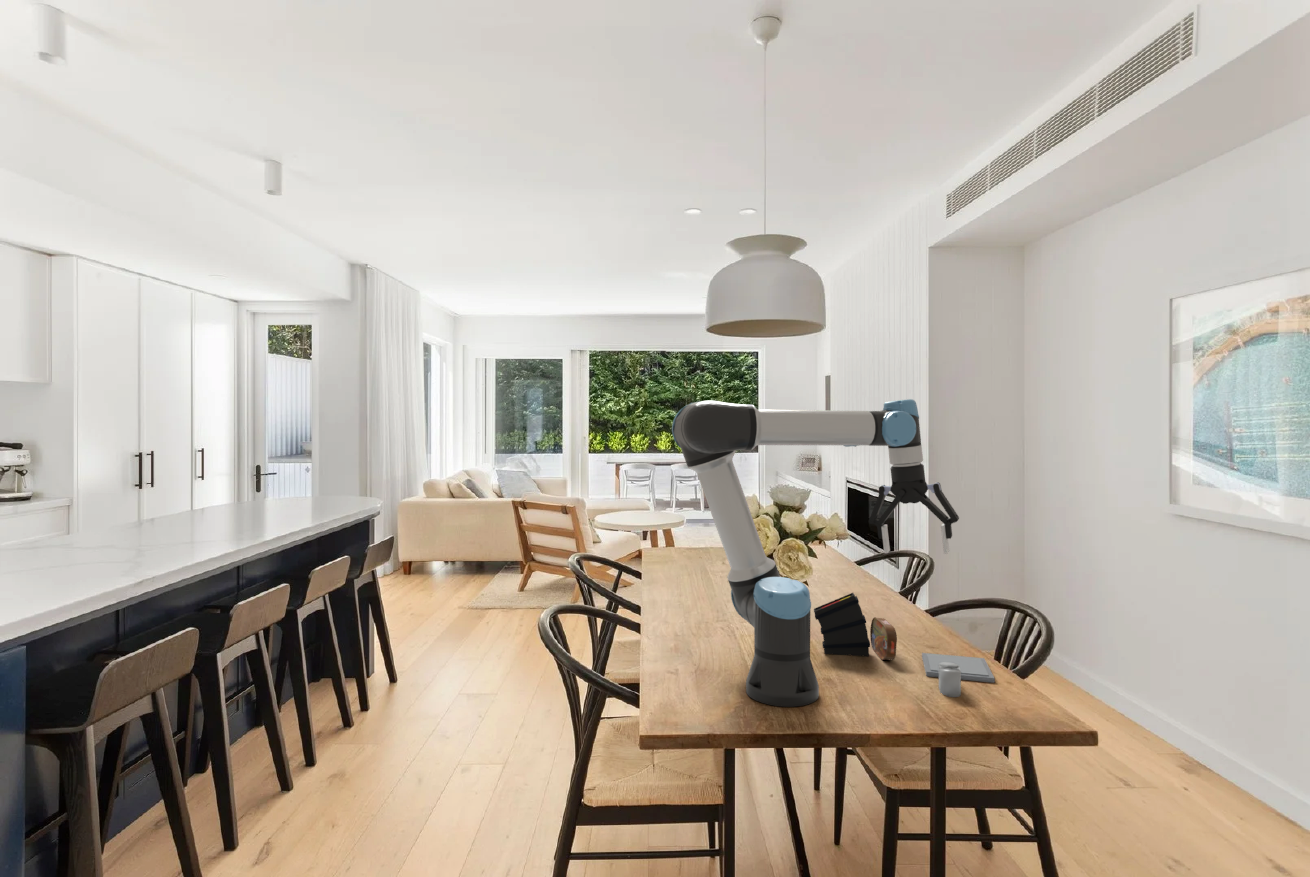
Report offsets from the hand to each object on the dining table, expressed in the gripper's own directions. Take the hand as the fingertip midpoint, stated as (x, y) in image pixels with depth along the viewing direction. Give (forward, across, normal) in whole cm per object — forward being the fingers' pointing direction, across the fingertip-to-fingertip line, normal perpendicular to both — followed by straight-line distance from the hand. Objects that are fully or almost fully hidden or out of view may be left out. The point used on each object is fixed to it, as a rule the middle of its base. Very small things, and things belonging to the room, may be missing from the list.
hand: (916, 552), depth 163 cm
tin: (+26, +10, 0) cm, 28 cm away
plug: (+26, -7, +16) cm, 31 cm away
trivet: (+27, -6, +2) cm, 28 cm away
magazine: (+25, +20, +4) cm, 32 cm away
